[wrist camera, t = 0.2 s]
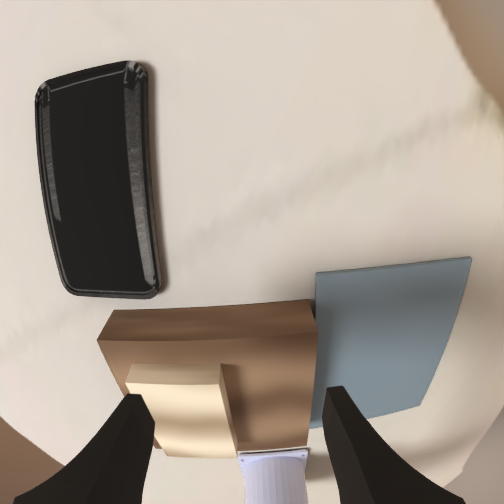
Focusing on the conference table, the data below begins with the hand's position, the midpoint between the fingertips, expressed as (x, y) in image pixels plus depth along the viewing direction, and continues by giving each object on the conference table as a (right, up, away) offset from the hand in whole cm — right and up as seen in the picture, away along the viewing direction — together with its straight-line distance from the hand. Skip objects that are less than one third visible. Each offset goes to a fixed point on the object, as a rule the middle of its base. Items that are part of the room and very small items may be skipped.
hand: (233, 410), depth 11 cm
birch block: (-4, -6, +10) cm, 12 cm away
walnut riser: (-2, -4, +13) cm, 14 cm away
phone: (-9, +10, +7) cm, 15 cm away
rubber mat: (+12, -3, +13) cm, 18 cm away
